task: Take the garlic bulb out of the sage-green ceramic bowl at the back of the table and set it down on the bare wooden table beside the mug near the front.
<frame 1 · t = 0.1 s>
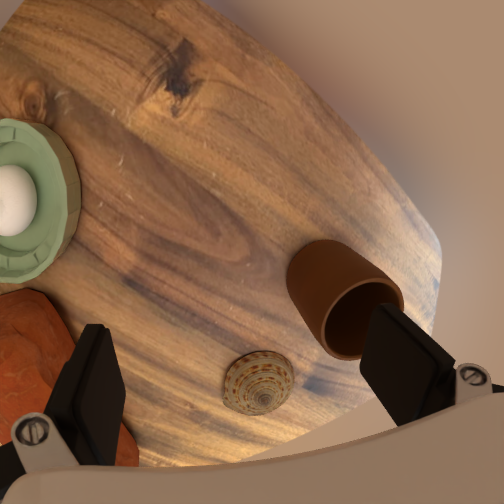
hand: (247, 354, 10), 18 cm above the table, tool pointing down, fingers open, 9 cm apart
seashell: (257, 380, 34), on the table
mug: (336, 280, 32), on the table
bowl: (18, 196, 23), on the table
bread: (55, 387, 30), on the table
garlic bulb: (17, 197, 23), resting on bowl
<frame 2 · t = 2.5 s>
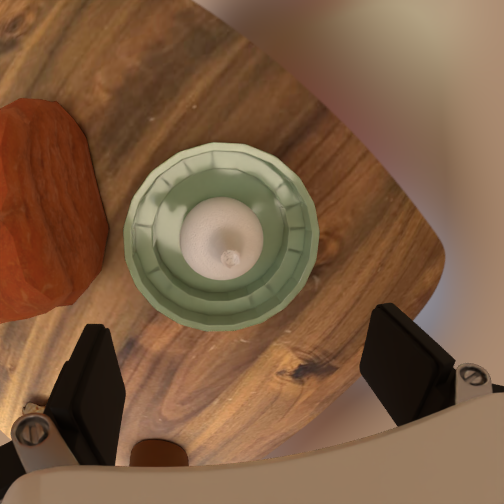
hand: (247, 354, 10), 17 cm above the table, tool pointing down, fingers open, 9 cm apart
seashell: (55, 418, 30), on the table
mug: (155, 460, 34), on the table
bowl: (219, 231, 26), on the table
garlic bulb: (219, 232, 26), resting on bowl
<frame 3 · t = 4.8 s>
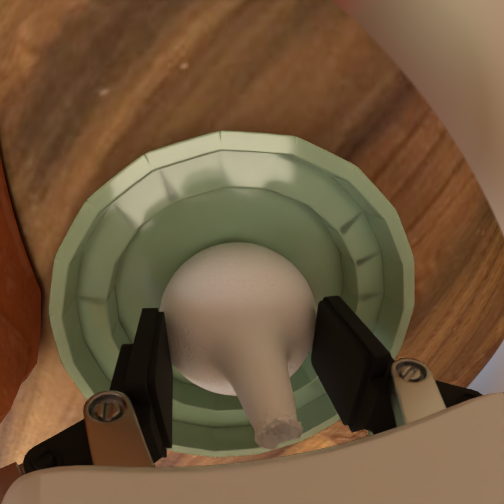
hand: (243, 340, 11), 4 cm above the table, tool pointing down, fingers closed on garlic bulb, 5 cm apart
bowl: (231, 297, 14), on the table
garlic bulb: (232, 300, 14), resting on bowl, touching gripper
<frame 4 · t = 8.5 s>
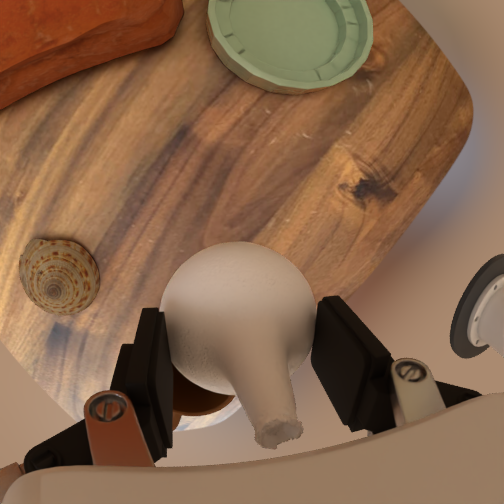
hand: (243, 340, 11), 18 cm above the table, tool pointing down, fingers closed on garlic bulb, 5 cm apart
seashell: (60, 273, 27), on the table
mug: (182, 339, 32), on the table
bowl: (284, 25, 23), on the table
bread: (45, 26, 19), on the table
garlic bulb: (232, 300, 14), point 15 cm above the table, touching gripper
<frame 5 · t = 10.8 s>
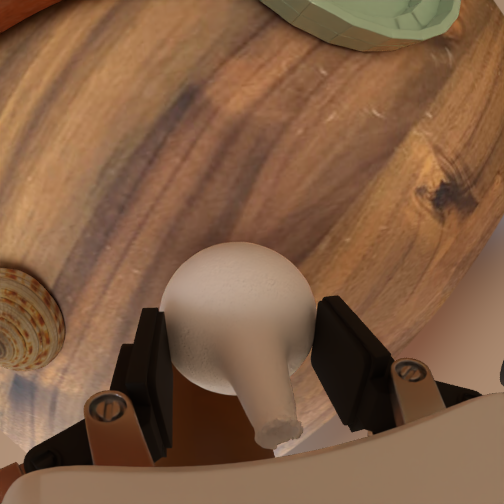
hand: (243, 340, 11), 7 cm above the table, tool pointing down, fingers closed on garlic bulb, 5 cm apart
seashell: (12, 312, 17), on the table
mug: (188, 403, 21), on the table
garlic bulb: (232, 300, 14), point 4 cm above the table, touching gripper
when the fingers open (3 cm above the table, at t = 12.4 s): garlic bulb stays where it is, on the table.
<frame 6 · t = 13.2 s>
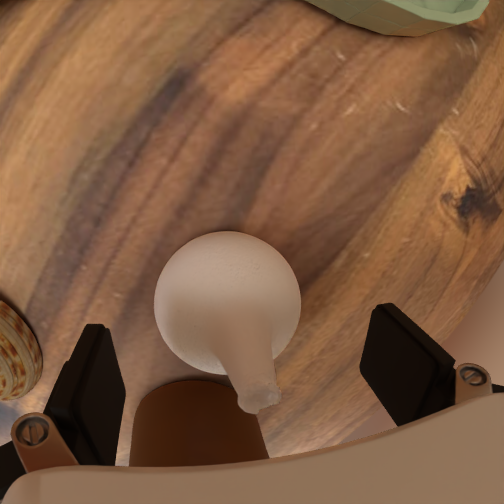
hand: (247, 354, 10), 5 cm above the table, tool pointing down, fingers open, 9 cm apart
mug: (183, 434, 18), on the table
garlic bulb: (223, 286, 15), on the table
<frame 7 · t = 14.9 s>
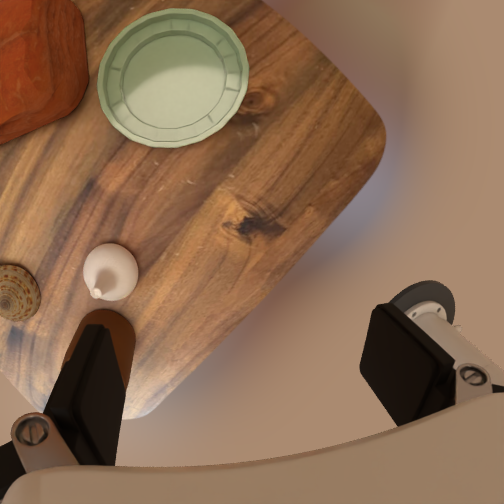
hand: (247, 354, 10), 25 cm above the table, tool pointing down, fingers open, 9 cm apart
seashell: (13, 288, 32), on the table
mug: (104, 344, 37), on the table
bowl: (173, 81, 28), on the table
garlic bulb: (113, 266, 34), on the table
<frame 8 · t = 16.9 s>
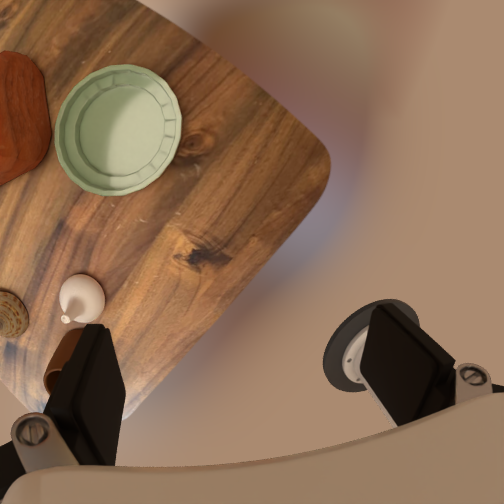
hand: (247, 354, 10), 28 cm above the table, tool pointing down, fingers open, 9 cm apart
seashell: (6, 310, 36), on the table
mug: (83, 357, 41), on the table
bowl: (121, 130, 32), on the table
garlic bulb: (85, 292, 38), on the table
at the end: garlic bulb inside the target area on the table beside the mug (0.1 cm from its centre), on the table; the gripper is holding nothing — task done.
